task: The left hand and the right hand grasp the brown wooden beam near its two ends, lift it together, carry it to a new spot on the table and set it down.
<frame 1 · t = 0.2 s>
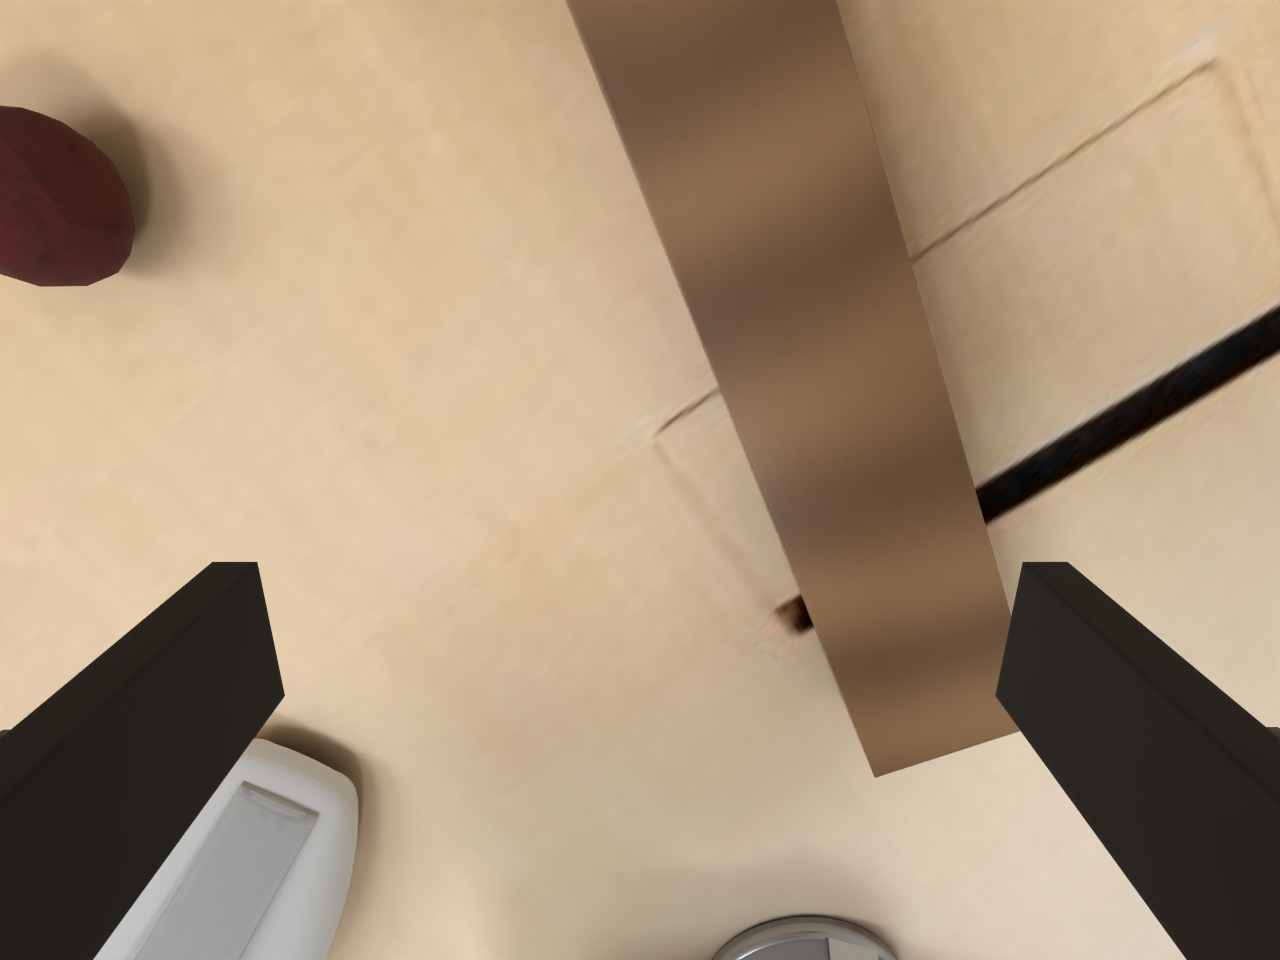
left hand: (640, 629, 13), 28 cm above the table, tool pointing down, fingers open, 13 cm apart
potato: (93, 203, 36), on the table
projector: (248, 851, 51), on the table
brown wooden beam: (771, 271, 37), on the table
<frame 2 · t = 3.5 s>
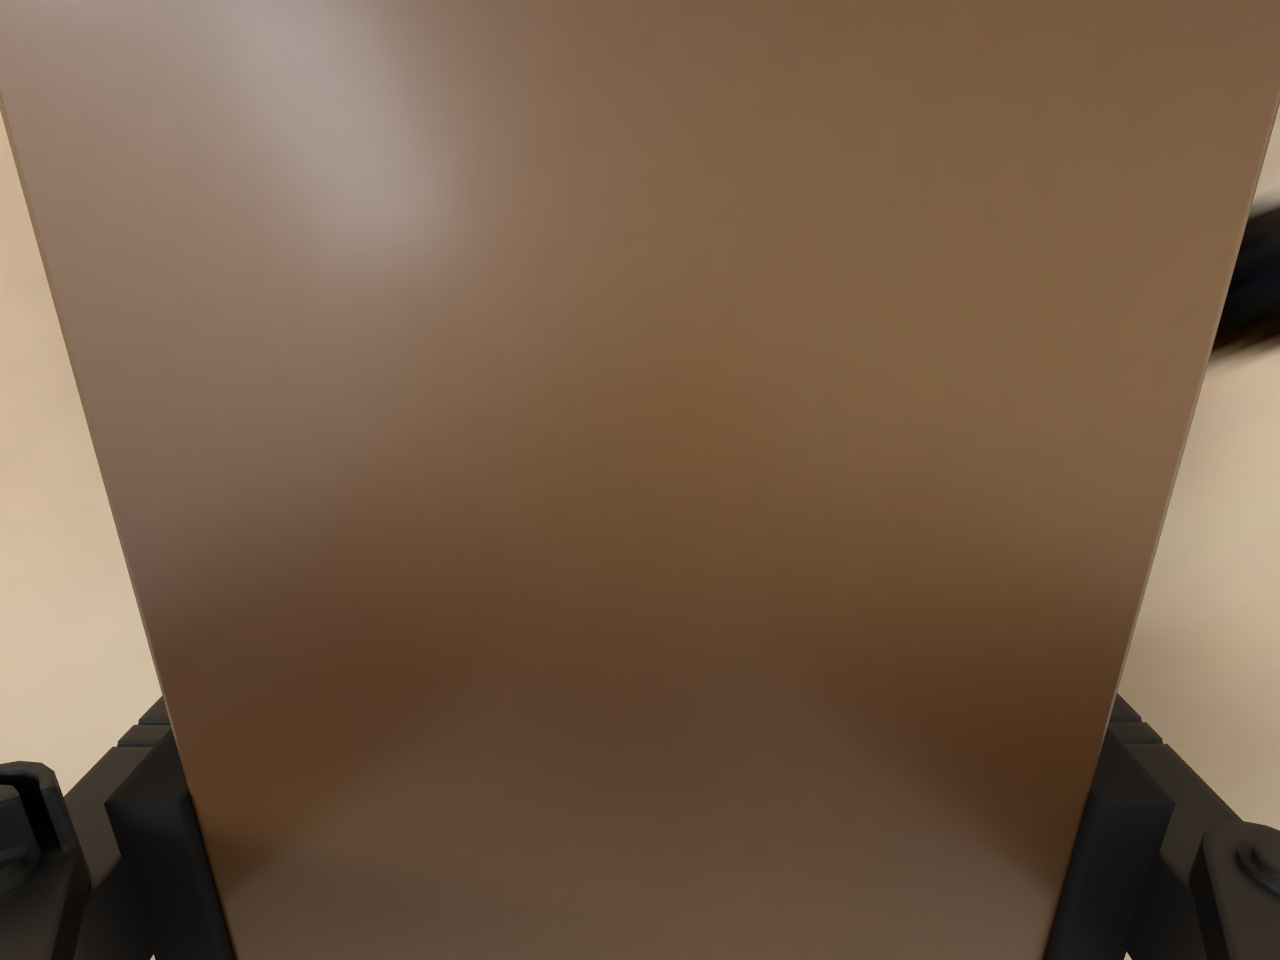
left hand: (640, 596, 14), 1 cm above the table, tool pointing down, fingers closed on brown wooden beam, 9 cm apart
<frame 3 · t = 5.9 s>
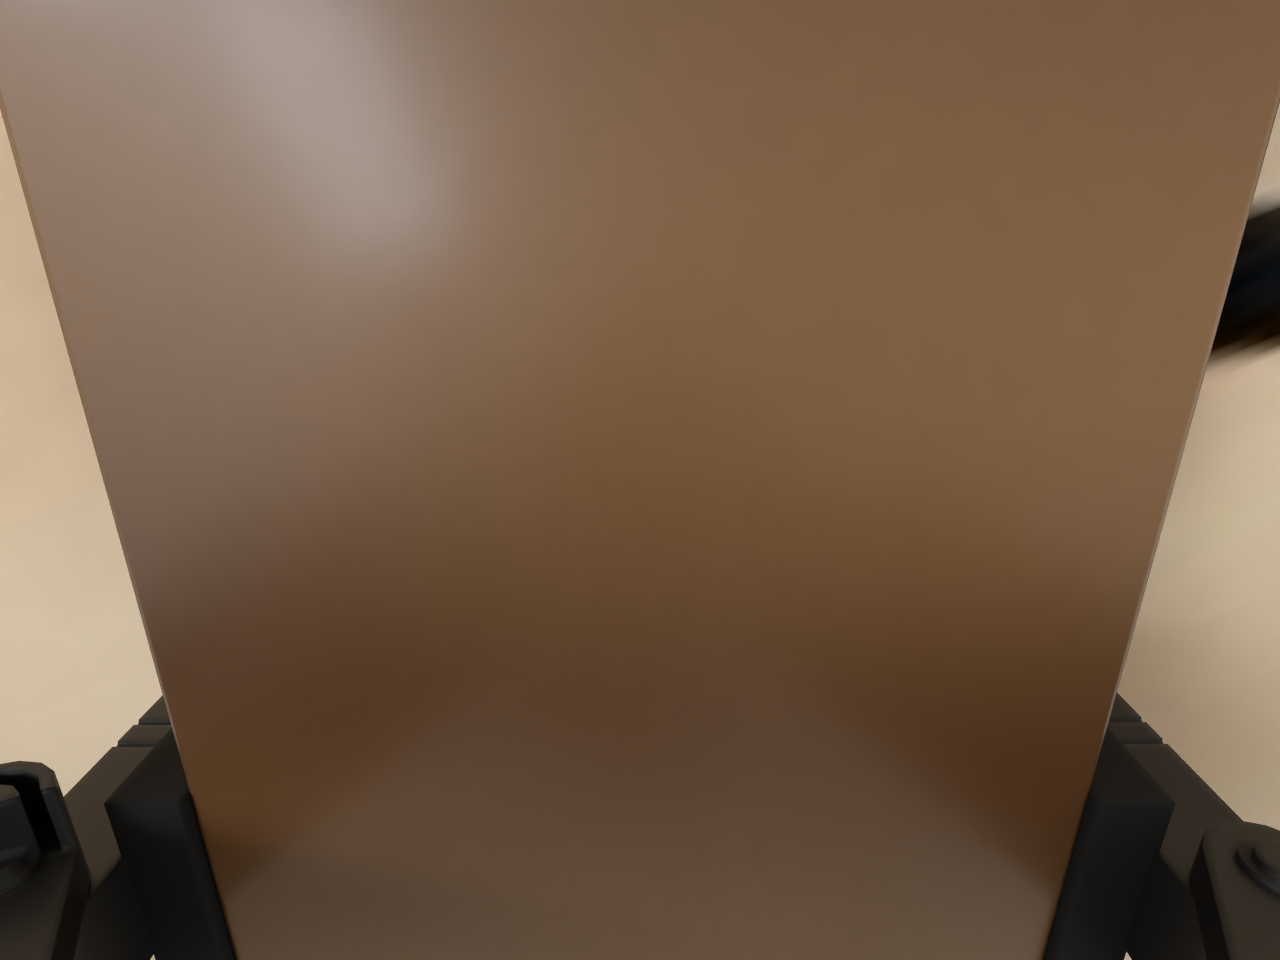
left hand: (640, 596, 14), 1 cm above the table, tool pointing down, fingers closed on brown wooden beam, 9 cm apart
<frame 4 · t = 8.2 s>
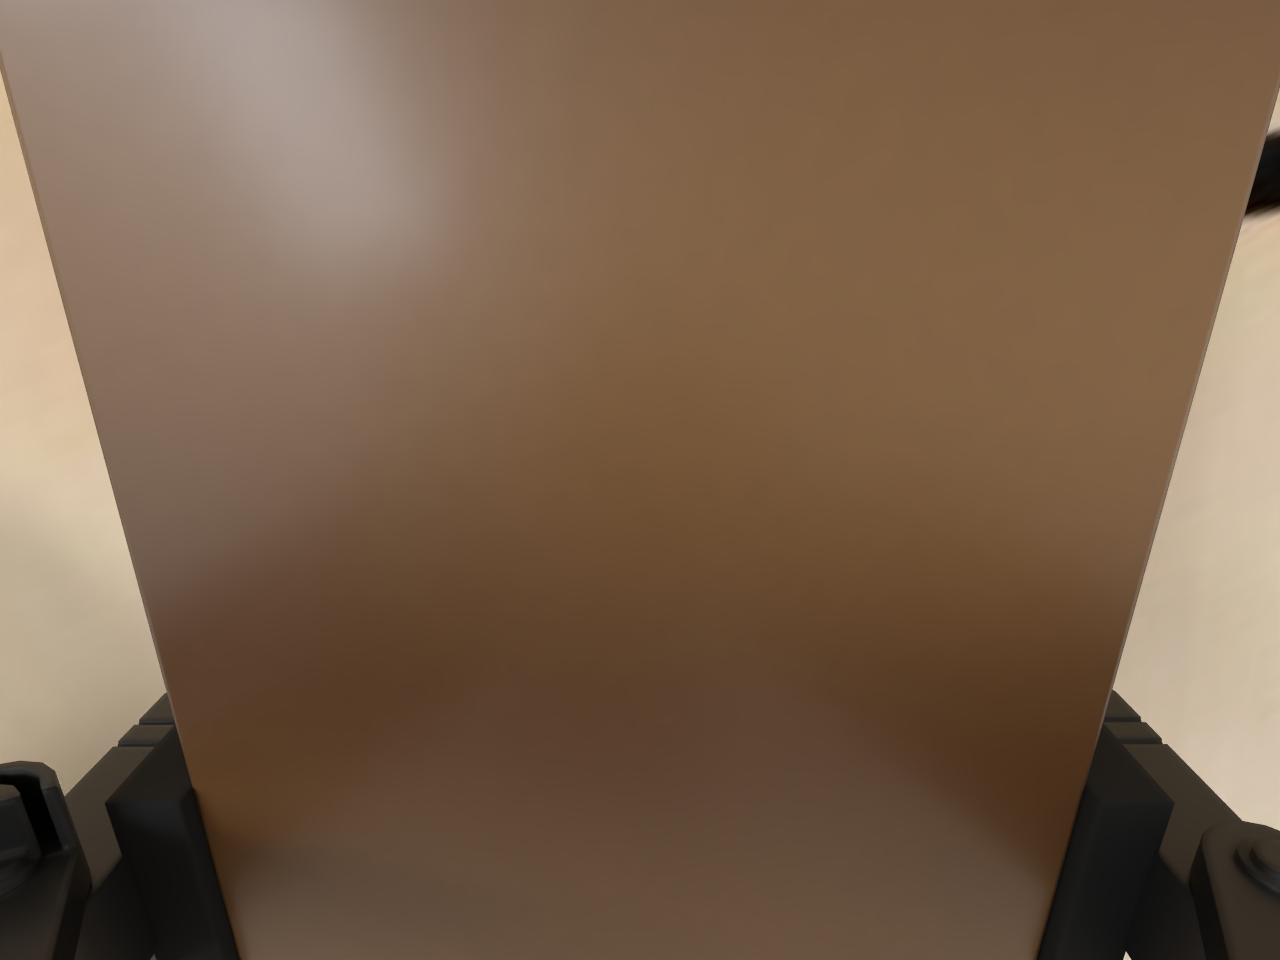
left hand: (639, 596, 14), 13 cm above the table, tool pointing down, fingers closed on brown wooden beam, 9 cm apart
when the left hand's fingers open (1 cm above the table, at t = 13.0 s): brown wooden beam stays where it is, on the table.
when the right hand's fingers open (1 cm above the table, at t = 13.0 s): brown wooden beam stays where it is, on the table.
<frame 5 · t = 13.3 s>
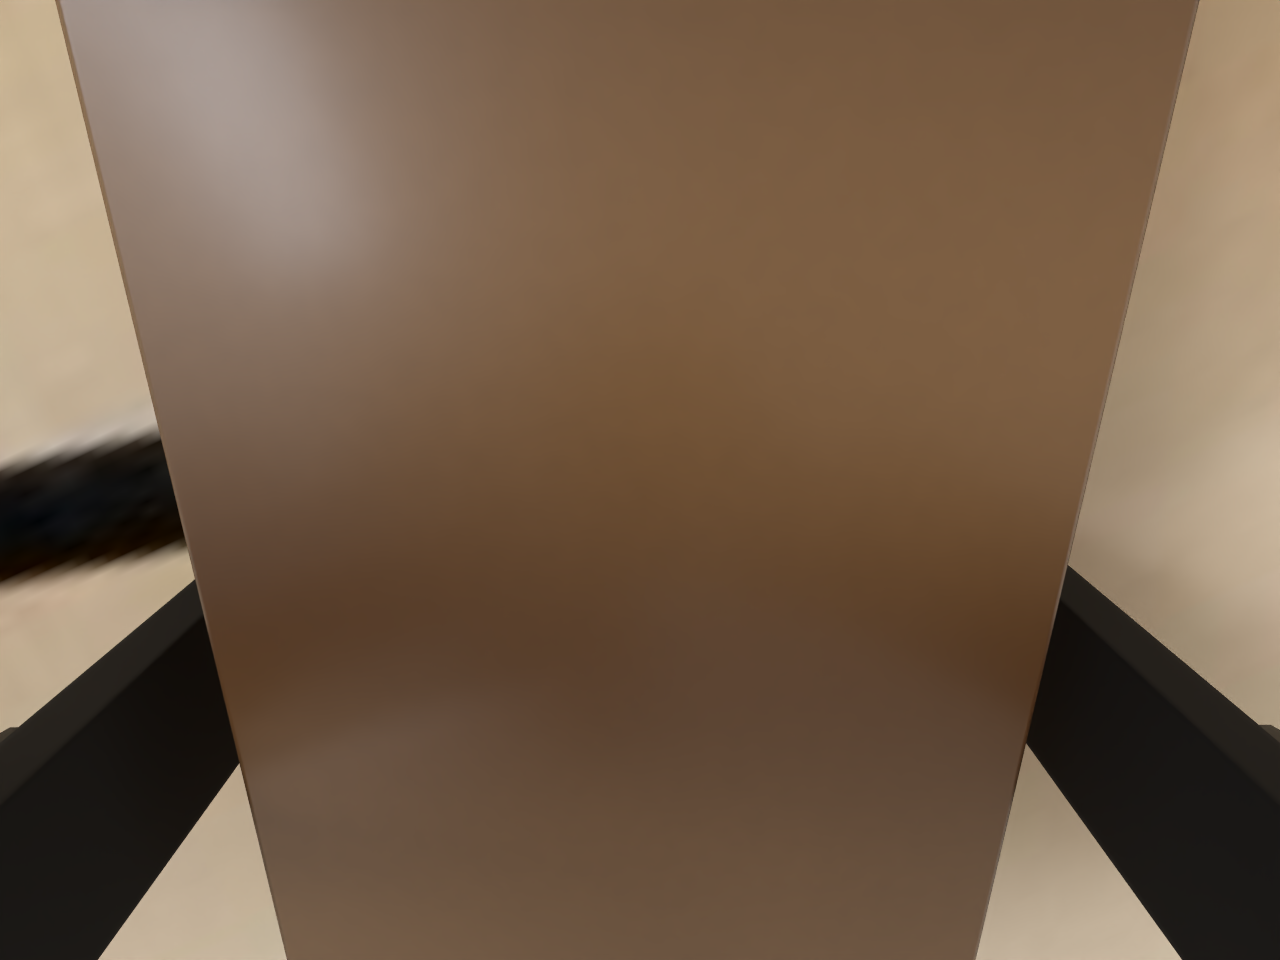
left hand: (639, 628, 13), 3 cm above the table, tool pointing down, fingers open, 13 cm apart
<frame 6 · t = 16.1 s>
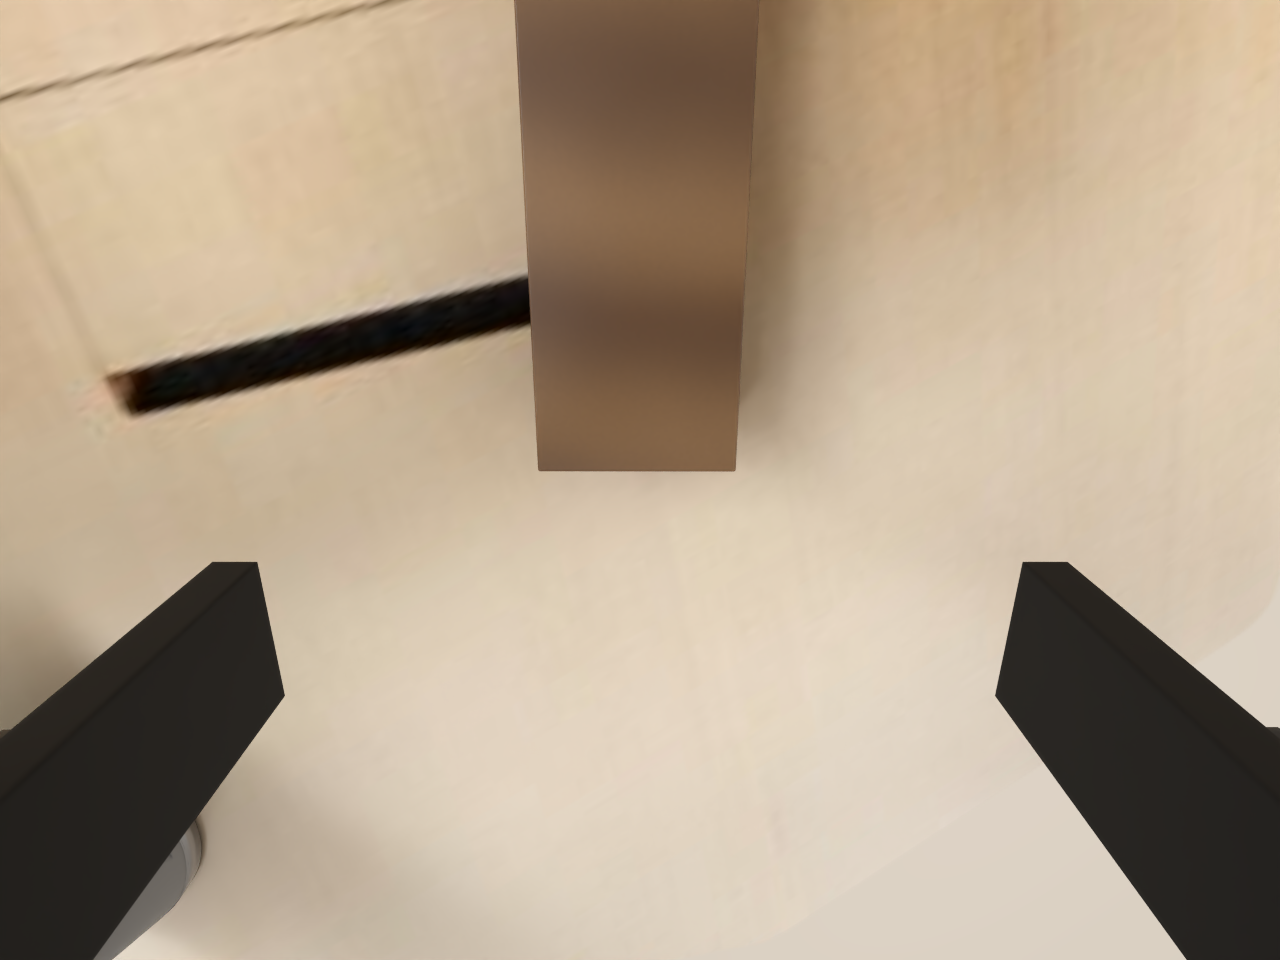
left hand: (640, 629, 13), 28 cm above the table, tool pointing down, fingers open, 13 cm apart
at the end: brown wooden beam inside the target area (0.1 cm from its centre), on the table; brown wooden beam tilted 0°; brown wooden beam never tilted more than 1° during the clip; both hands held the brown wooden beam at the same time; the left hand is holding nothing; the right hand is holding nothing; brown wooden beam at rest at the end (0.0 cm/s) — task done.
